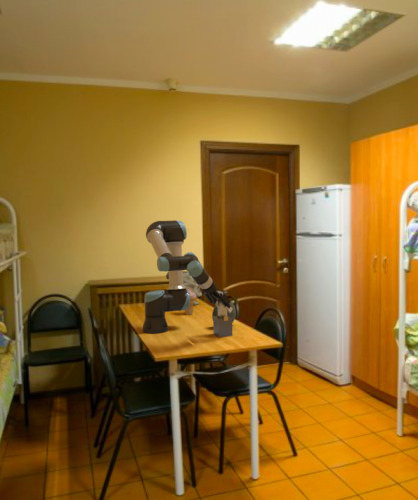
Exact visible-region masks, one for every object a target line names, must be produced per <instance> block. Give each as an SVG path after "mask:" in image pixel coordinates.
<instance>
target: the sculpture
mask: <svg viewBox="0 0 418 500" xmlns="http://www.w3.org/2000/svg"><path fill="white" fill-rule="evenodd" d="M165 279H166V280H169V271H167V273H166V274H165ZM183 284H184V286H185V287H186V290H187V289H191V292H193V293H195V294H196V297H197V298H199V297H202V295H203V293H202V290H201V288H200V287H199V285H198V284H197V283H196V281H195V280H194V279H193V278H192V276H190V274H189V273H188V271H187V270H183ZM197 298H196V299H195V300H196V302H195V303H194V306H198V305H199V301H198V300H197Z"/></svg>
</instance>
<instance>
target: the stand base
mask: <svg viewBox="0 0 418 500" xmlns="http://www.w3.org/2000/svg"><path fill="white" fill-rule="evenodd" d="M212 321H213V322H212V323H213V327H212V328H213V335H215V336H216V337H217V338H225V337H231V336H233V323H232V317H230V316H228V315H227V316H226V317H223V318H218V316H213V319H212Z"/></svg>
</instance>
